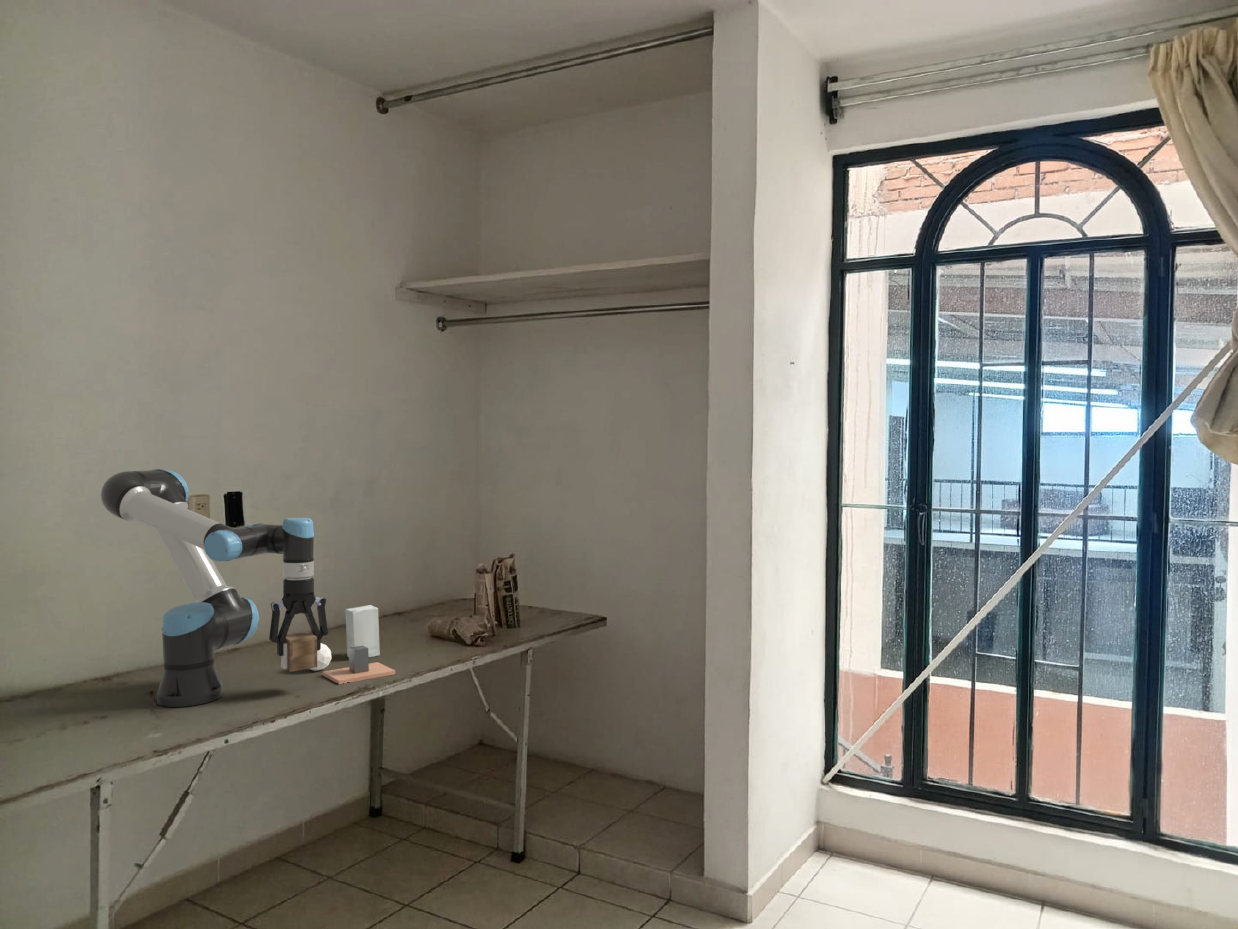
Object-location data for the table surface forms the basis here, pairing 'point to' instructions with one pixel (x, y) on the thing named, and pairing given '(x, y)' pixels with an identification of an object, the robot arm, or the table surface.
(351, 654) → the post
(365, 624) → the skincare box
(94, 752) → the table surface
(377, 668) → the base plate
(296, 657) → the cardboard carton
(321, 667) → the ball
